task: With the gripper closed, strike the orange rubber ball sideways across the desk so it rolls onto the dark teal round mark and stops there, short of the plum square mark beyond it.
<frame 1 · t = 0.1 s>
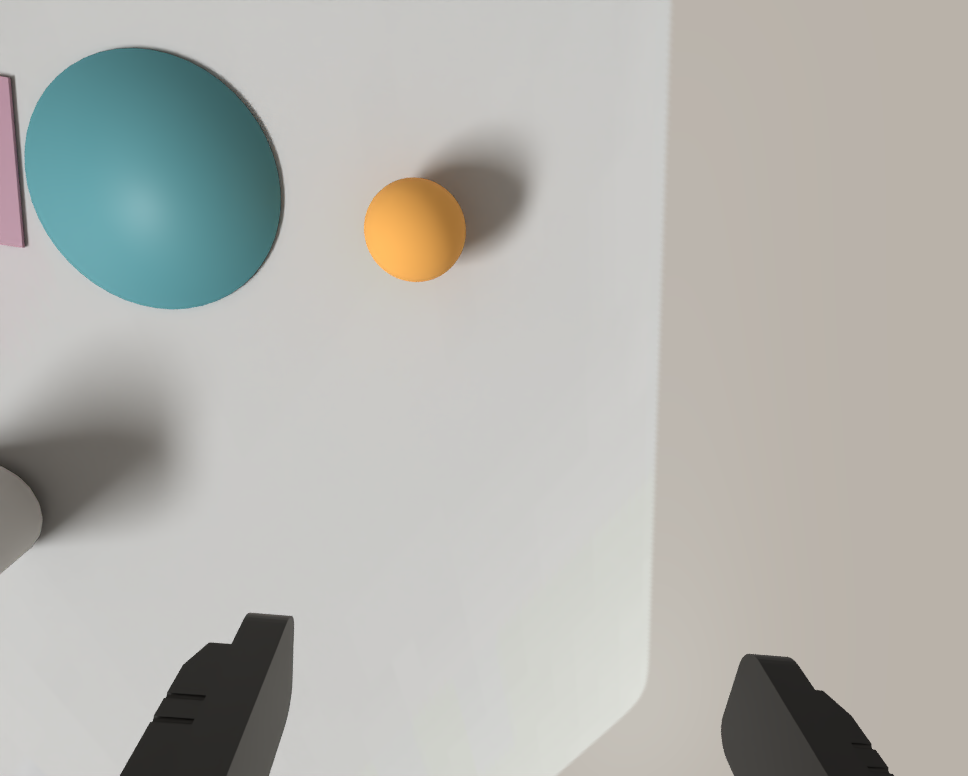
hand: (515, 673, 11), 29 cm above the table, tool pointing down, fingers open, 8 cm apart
ball: (415, 230, 34), on the table
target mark: (155, 186, 35), on the table
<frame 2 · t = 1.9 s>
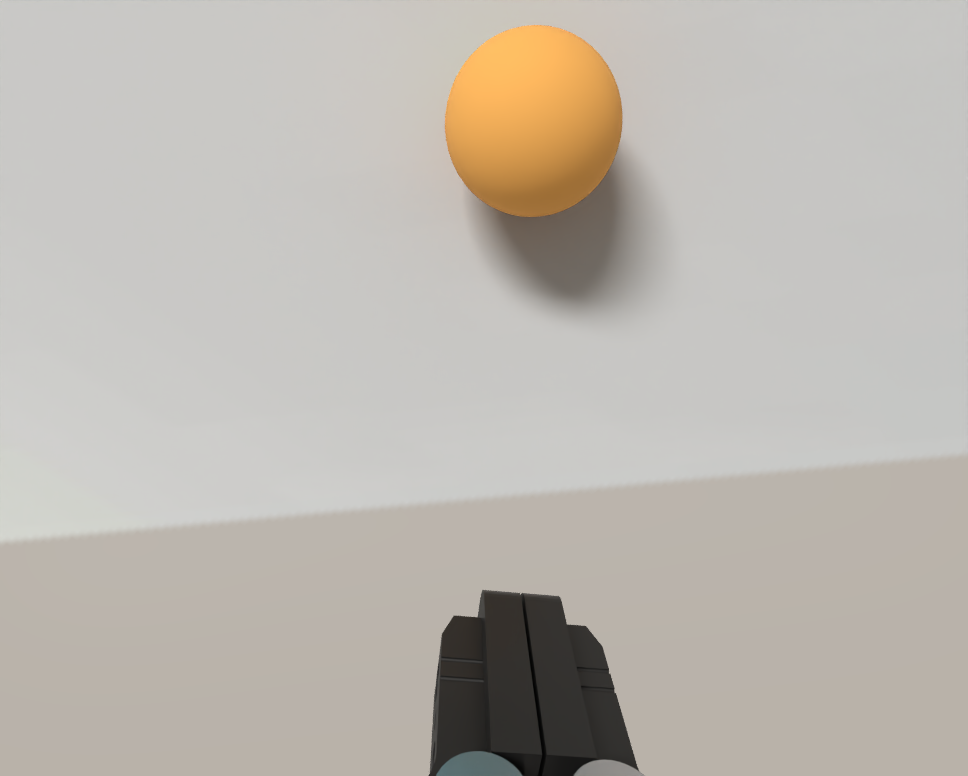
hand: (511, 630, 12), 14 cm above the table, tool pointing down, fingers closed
ball: (532, 126, 20), on the table
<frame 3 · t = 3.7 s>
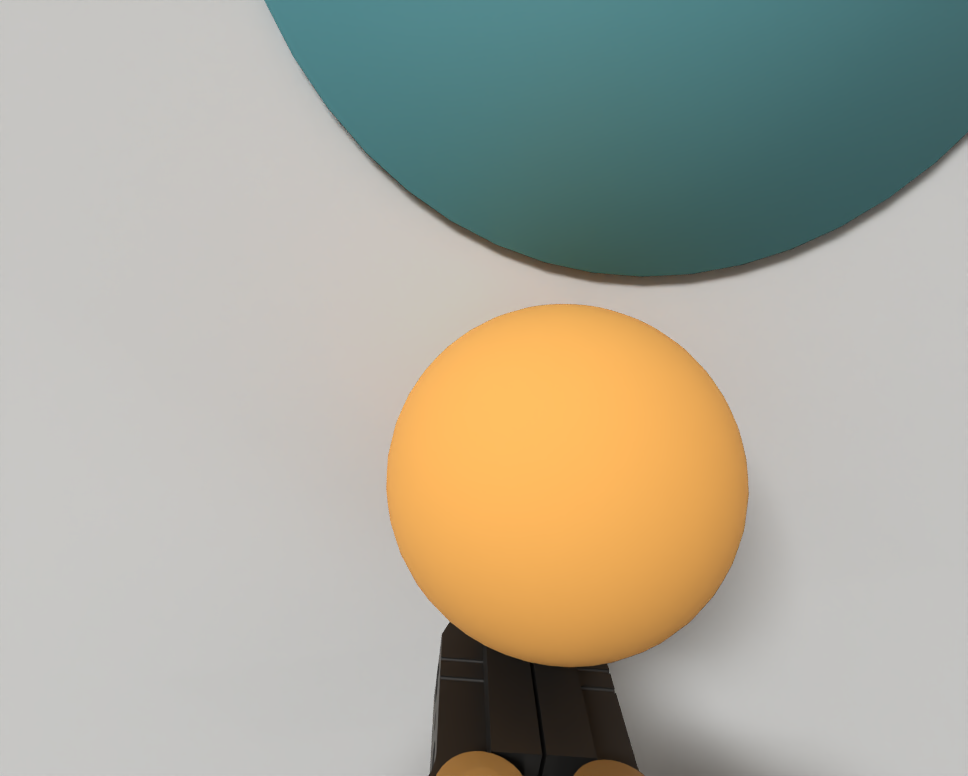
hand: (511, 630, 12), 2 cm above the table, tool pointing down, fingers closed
ball: (561, 478, 10), on the table, touching gripper
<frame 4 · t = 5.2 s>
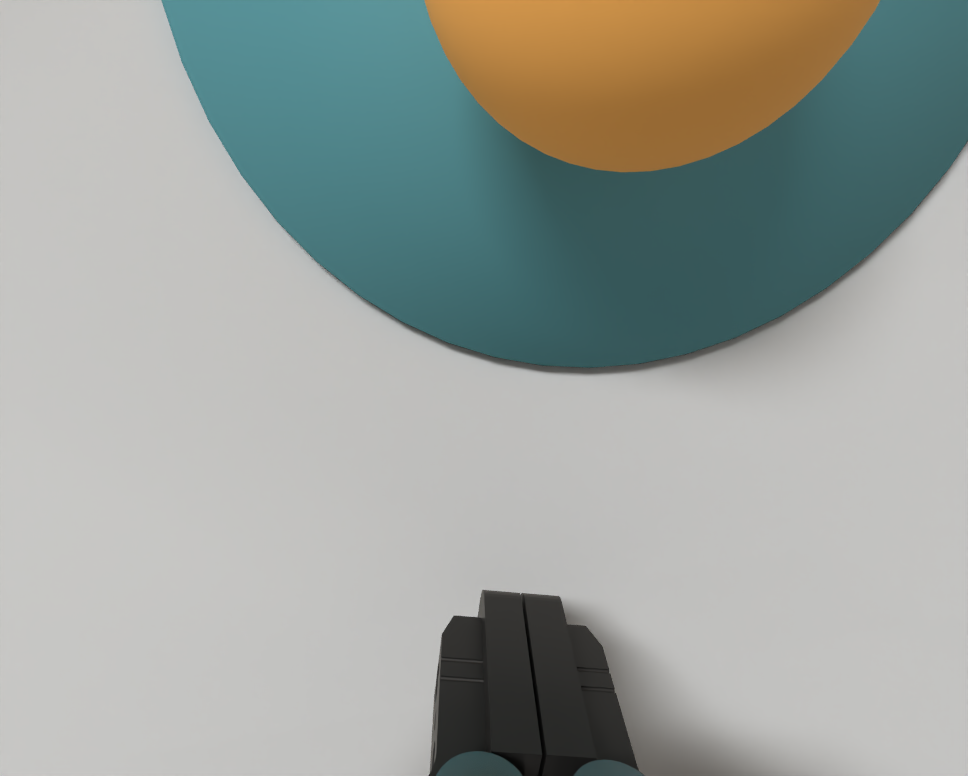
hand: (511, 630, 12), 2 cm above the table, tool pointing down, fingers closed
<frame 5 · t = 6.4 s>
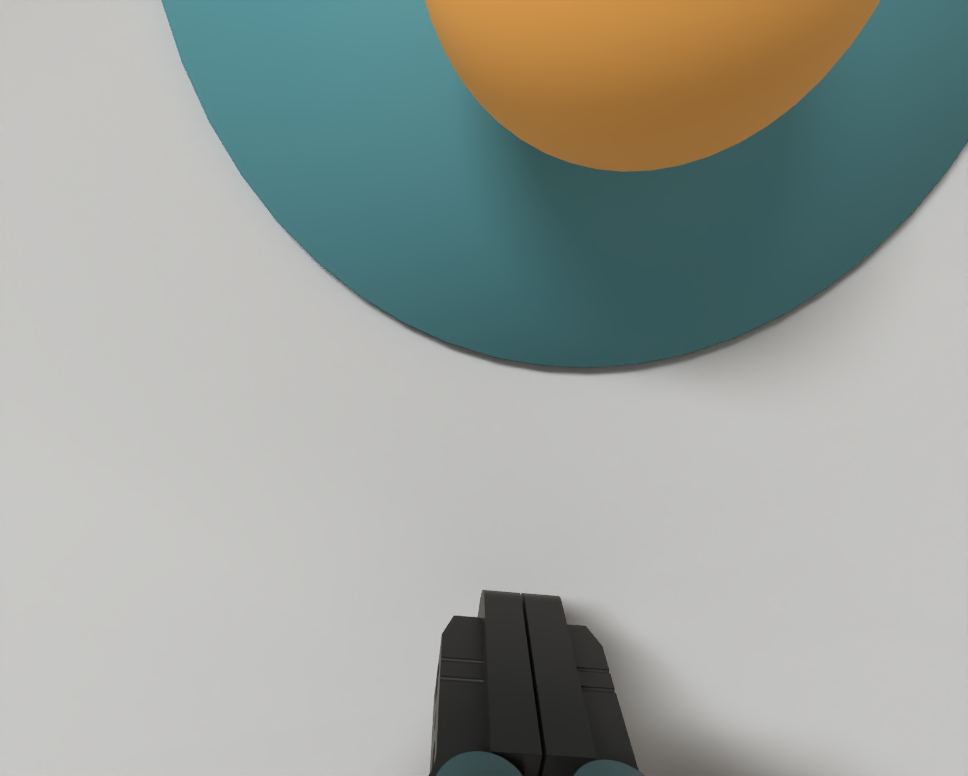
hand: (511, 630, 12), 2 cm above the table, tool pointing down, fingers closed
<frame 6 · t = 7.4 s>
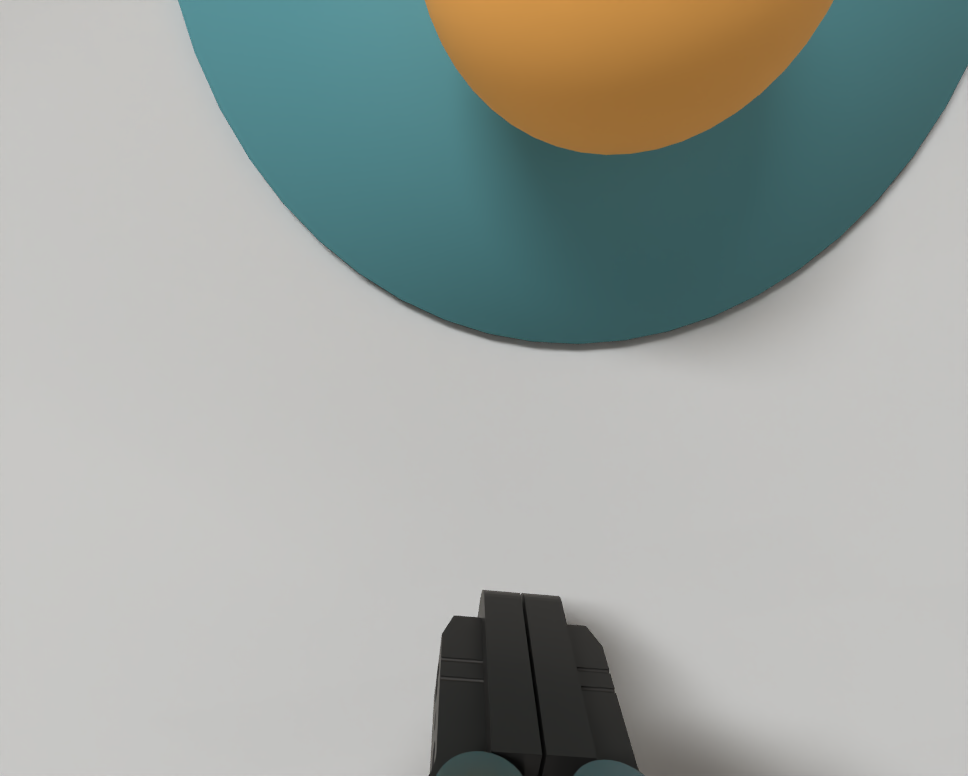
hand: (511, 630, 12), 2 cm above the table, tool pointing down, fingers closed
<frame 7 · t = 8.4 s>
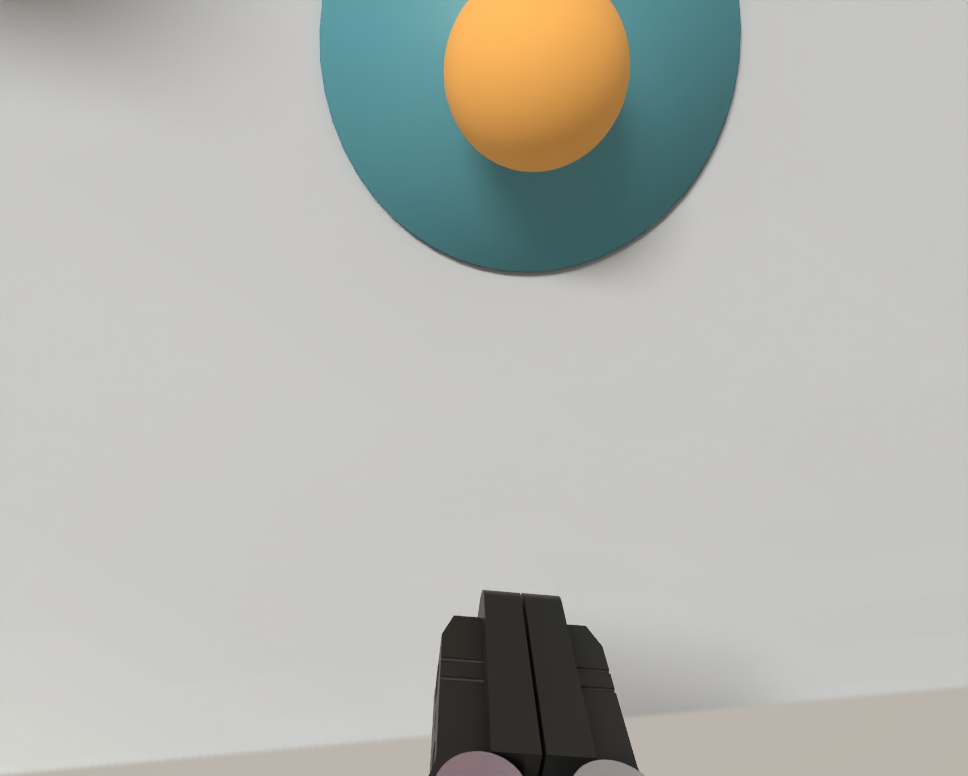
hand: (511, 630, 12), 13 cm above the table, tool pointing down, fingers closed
ball: (535, 74, 19), on the table
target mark: (531, 61, 21), on the table
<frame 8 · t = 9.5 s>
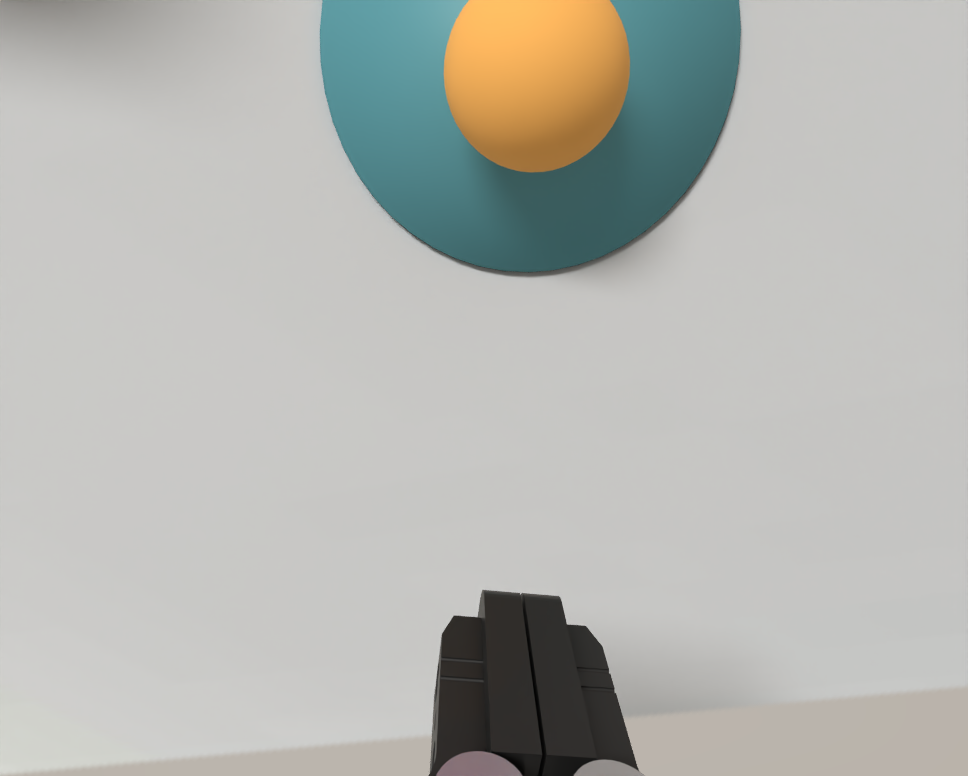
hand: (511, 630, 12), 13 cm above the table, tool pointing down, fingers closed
ball: (535, 75, 19), on the table
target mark: (531, 62, 21), on the table
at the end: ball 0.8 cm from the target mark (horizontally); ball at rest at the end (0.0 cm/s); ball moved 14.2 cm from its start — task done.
